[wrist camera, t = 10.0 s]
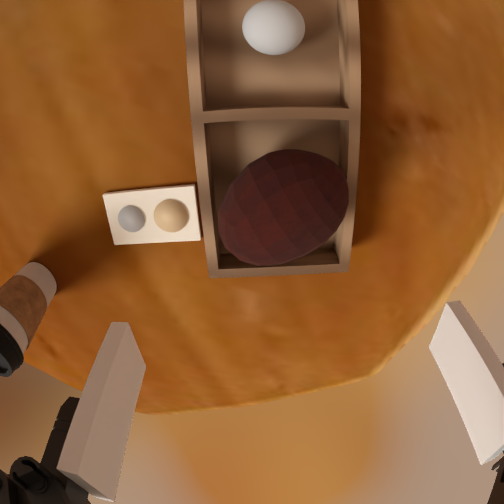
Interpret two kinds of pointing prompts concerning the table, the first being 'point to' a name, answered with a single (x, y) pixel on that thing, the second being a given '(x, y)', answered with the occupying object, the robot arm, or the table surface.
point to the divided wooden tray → (272, 113)
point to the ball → (273, 27)
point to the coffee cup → (22, 312)
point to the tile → (153, 215)
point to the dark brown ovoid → (283, 207)
